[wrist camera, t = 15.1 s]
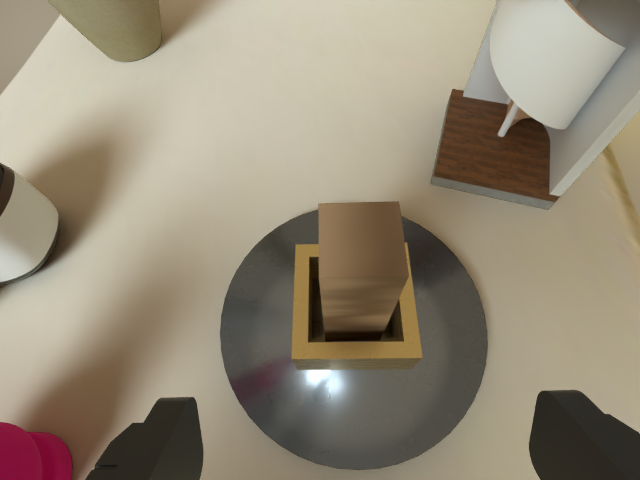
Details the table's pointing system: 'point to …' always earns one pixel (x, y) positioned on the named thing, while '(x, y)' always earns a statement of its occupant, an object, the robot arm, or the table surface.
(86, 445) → the table surface
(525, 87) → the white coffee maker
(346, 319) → the tall tan wooden block
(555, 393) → the robot arm
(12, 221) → the spread jar
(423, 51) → the table surface
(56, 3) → the plant pot
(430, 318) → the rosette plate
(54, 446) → the pepper mill
